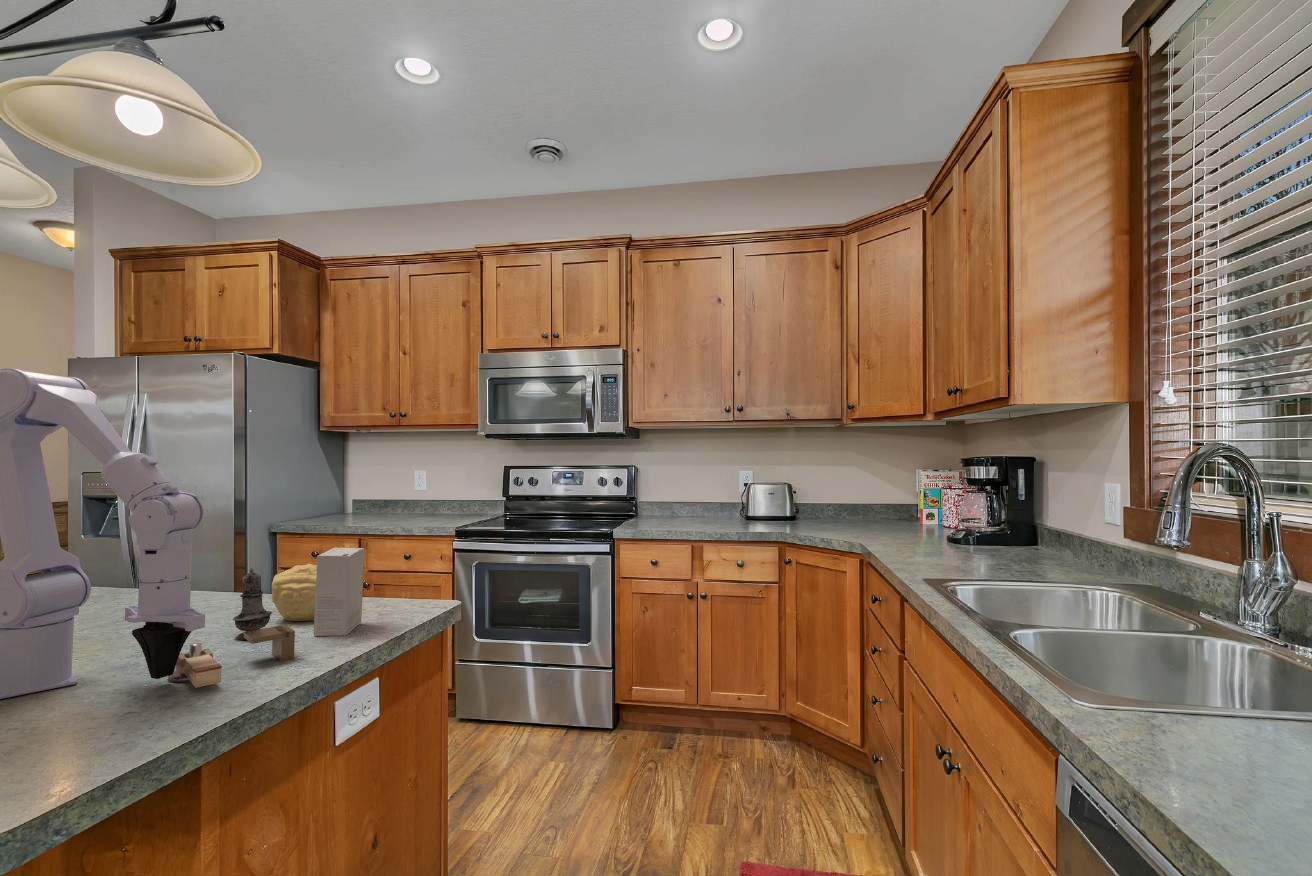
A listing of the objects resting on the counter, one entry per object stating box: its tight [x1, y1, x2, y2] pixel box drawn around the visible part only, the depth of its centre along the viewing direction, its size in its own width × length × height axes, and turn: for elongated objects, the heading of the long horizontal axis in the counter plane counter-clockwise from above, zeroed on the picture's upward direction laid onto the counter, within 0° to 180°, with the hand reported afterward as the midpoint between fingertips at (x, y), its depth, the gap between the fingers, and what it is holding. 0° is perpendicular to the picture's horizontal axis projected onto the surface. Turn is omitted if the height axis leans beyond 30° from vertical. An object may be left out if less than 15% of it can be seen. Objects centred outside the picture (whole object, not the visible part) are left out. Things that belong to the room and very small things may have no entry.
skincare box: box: [313, 547, 365, 637], centre depth 110 cm, size 8×6×15 cm
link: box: [175, 648, 223, 689], centre depth 84 cm, size 11×4×2 cm, turn 48°
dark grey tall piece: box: [232, 568, 273, 641], centre depth 106 cm, size 6×6×12 cm
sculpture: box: [271, 563, 317, 622], centre depth 118 cm, size 12×12×11 cm
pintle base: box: [167, 642, 203, 684], centre depth 87 cm, size 6×6×4 cm
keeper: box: [243, 624, 296, 662], centre depth 94 cm, size 6×5×4 cm
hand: (162, 676), depth 83 cm, fingers closed
